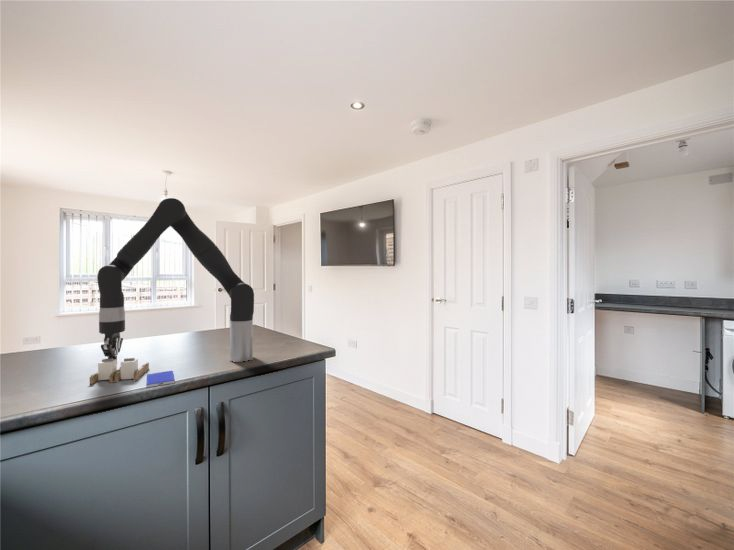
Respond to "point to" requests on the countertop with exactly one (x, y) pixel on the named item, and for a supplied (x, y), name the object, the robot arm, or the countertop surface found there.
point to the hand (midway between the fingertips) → (112, 366)
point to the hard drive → (160, 378)
